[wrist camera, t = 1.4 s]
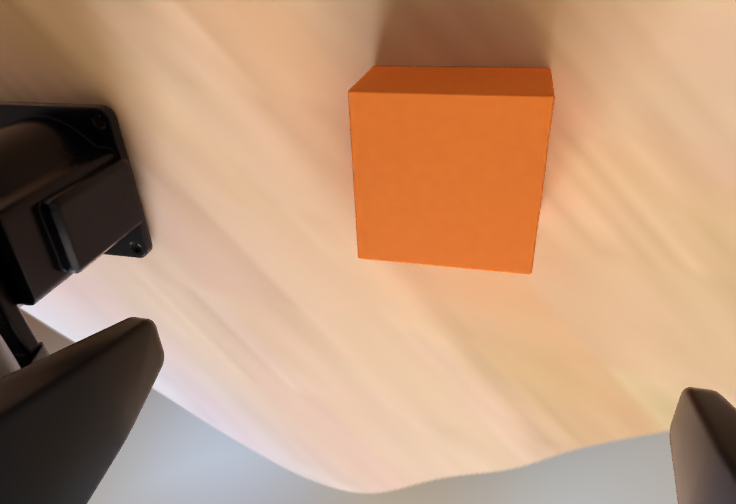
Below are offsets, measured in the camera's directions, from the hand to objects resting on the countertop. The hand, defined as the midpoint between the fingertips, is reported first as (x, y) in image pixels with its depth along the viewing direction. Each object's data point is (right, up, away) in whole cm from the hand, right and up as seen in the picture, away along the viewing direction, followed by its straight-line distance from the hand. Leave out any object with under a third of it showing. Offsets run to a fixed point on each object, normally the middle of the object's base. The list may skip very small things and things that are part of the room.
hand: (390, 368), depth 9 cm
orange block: (+3, +5, +9) cm, 11 cm away
